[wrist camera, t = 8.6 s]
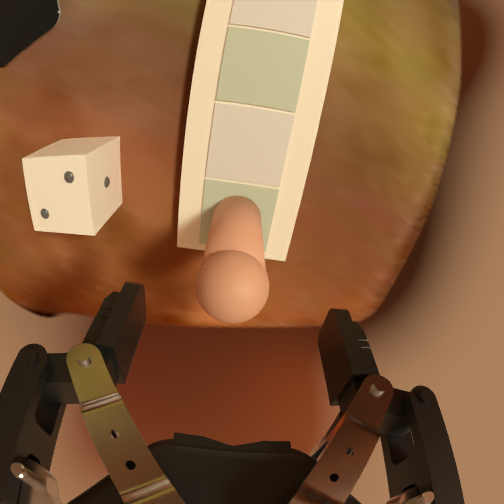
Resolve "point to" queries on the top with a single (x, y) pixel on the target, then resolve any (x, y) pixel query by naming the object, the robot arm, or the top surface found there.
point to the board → (255, 112)
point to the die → (74, 184)
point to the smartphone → (24, 25)
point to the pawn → (233, 263)
